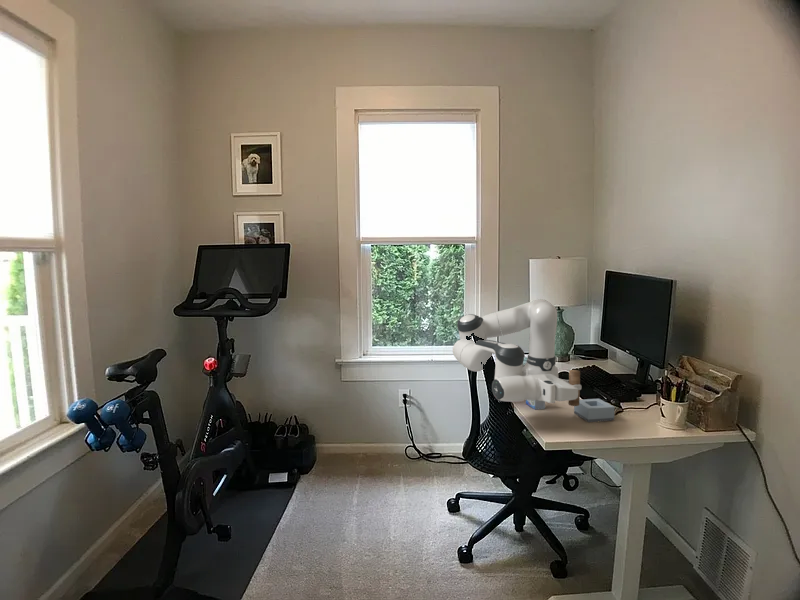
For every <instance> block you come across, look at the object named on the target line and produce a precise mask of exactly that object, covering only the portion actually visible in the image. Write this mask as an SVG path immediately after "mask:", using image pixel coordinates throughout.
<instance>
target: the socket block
mask: <svg viewBox="0 0 800 600" xmlns="http://www.w3.org/2000/svg"><path fill="white" fill-rule="evenodd" d="M573 407H574V408H573V410H574V411H573V414H574V415H577V417H580V418H581V419H583V420H584V421H585V422H587V423H593V422H594V423H595V422H596V423H598V421H599V422H611V421H612V420H614V421H615V406H614V405H611V404H610V403H608V402H607V401H605V400H602V399H601V398H587V399H585V398H584V399H579V406H573Z"/></svg>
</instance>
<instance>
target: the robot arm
mask: <svg viewBox="0 0 800 600" xmlns="http://www.w3.org/2000/svg"><path fill="white" fill-rule="evenodd" d="M456 324H457V325H456V326H457V330H458V334H459V339H458V340H457V341H456V342H455V343H454V344H453V346H452V354H453V356H454V358H455V359H456V360H457V362H458V363H460V364H461V366H463V367H464V368H466V369H467V370H469V371H472V372H482V371H483V370H484V369H483V364H484V365H485V364H486V362H487V360H488V359H489V358H490V357H491V356H492V357H493V354H494V356H495V369H494V379H493V380H492V383H491V391H492V394H493V396H494V398H495V399H496V400H497V401H501V402H512V403H513V402H524V401H526V400H539V401H545V403H548V404H555V403H556V402H569V400H575V399H577V398H578V390H580V391H581V390H582V384H581V383H580V384H575V385H571V384H569V379H562V378H559V369H558V367H557V366H556V364H557V363H556V362H557V358H556V355H555V351H556V349H555V348H556V346H555V345H556V333H557V327H558V326H557V324H558V310H557V308H556V307H555V306H554V305H553V304H552V303H551V302H550V301H548V300H546V299H541V298H540V299H538V298H537V299H535V300H532V301H529V302H526V303H522V304H519V305H516V306H513V307H511V308H506V309H501V310H498V311H494V312H491V313H487V314H485V315H482V316H479V315H477V314H473V313H469V314H465V315H463V316H461V317H459V318H458V320H457V323H456ZM526 329H529V338H528V354H527V358H526V363H525V364H524V361H525V351H524V350H523V349H522V347H521V346H520V345H519V344H514V343H505V342H501V341H495V340H491V339H490V338H497V337H502V336H506V335H511V334H515V333H519V332H521V331H523V330H526ZM472 333H474V335H475V336H477V337H479V338H482V339H484V340H478V341H476V343H474V341H473V340H472V339H470V340H467V339H466V336H468V337H469V336H471V334H472ZM470 338H471V337H470ZM488 338H489V339H488ZM492 357H491V358H492ZM481 362H482V365H481Z"/></svg>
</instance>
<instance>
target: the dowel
mask: <svg viewBox="0 0 800 600" xmlns="http://www.w3.org/2000/svg"><path fill="white" fill-rule="evenodd" d="M568 380H569V384H571V385H575V384H580V385H581V370H577V369H570V370H569V371H568ZM580 391H581V390H578V398H577V399H575V400H568V401H567V403H568V405H569V406H572V407H574V406H579V400H580V395H581V393H580Z"/></svg>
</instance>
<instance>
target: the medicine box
mask: <svg viewBox="0 0 800 600" xmlns="http://www.w3.org/2000/svg"><path fill="white" fill-rule="evenodd" d="M525 404H526V405H527V406H528V407H530V408H532V409H533V410H535V411H536V410H538V411H539V409H540V410H545V409H546V402H545V401H539V400H525Z"/></svg>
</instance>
